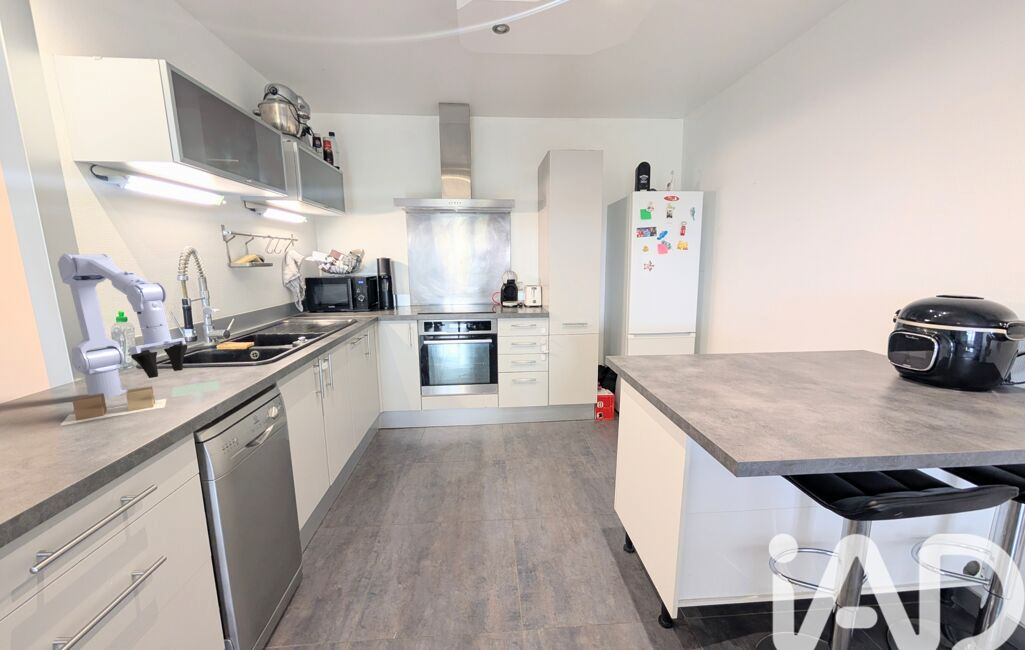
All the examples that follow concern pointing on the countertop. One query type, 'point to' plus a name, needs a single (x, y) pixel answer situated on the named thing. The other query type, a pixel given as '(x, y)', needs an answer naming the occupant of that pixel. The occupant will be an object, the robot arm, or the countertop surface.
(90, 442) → the countertop surface
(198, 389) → the sage pad
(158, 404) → the board
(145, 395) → the oak block
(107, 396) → the robot arm
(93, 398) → the walnut block
